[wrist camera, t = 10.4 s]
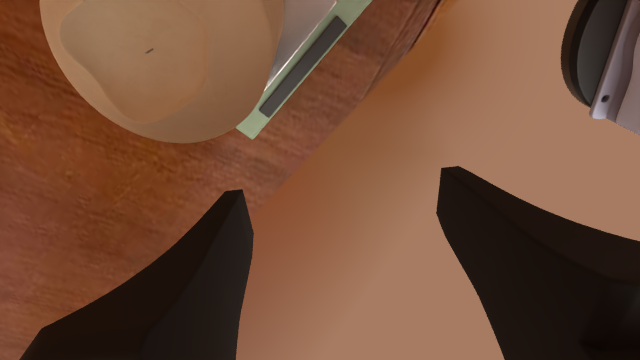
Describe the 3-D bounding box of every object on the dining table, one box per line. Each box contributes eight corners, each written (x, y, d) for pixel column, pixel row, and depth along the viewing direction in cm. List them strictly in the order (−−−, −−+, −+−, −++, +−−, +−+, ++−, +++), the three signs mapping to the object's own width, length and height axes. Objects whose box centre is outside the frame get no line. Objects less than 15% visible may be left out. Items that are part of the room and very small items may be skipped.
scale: (368, -6, 18) (375, -3, 16) (256, 126, 22) (252, 142, 20) (203, -185, 14) (189, -207, 13) (101, 12, 18) (78, 17, 16)
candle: (268, 83, 18) (239, 191, 9) (157, 48, 17) (8, 134, 8) (299, -37, 15) (298, -38, 7) (169, -88, 14) (-36, -170, 5)
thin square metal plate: (337, 0, 17) (338, 1, 16) (247, 111, 19) (245, 115, 19) (202, -139, 14) (197, -144, 13) (119, 15, 16) (112, 16, 16)
